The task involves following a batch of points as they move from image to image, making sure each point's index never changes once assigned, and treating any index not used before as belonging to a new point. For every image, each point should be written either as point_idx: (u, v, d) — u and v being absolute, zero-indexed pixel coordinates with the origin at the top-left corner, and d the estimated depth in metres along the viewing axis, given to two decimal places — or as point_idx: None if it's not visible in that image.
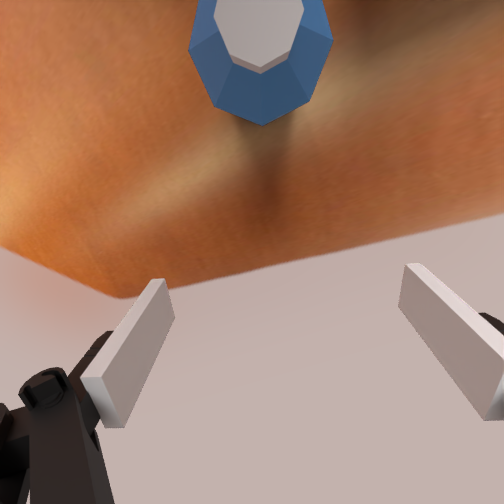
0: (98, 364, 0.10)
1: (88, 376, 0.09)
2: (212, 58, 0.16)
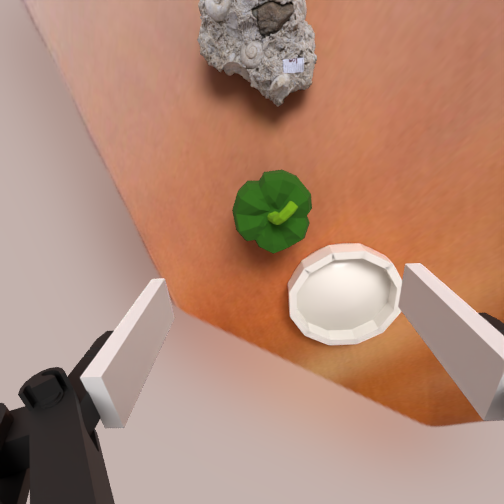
0: (98, 364, 0.10)
1: (88, 376, 0.09)
2: None
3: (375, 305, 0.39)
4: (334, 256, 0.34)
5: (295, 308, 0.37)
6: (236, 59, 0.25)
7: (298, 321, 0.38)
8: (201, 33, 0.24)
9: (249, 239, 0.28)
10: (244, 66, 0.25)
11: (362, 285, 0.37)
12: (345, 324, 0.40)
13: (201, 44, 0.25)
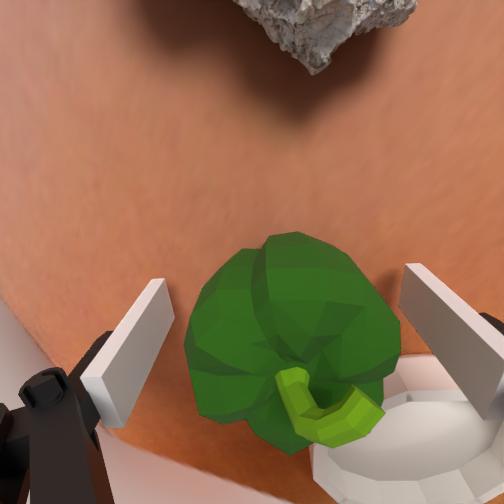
0: (98, 364, 0.10)
1: (88, 376, 0.09)
2: None
3: (466, 451, 0.21)
4: (411, 396, 0.16)
5: (324, 468, 0.20)
6: None
7: (328, 485, 0.21)
8: None
9: (227, 422, 0.11)
10: None
11: (449, 423, 0.20)
12: (407, 474, 0.23)
13: None
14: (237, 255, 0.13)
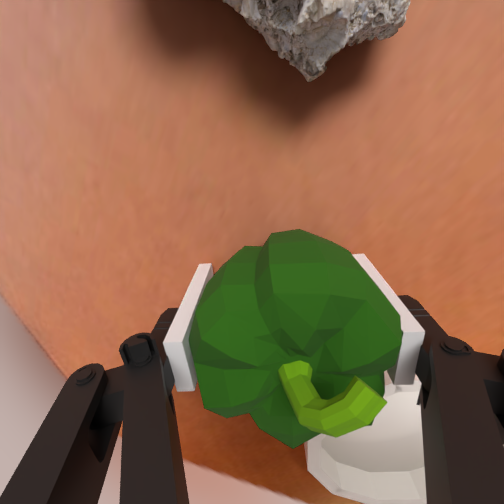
0: (175, 332, 0.11)
1: (170, 341, 0.10)
2: None
3: None
4: (400, 386, 0.17)
5: (318, 459, 0.20)
6: None
7: (322, 476, 0.21)
8: None
9: (231, 416, 0.11)
10: None
11: None
12: (399, 465, 0.24)
13: None
14: (240, 252, 0.13)
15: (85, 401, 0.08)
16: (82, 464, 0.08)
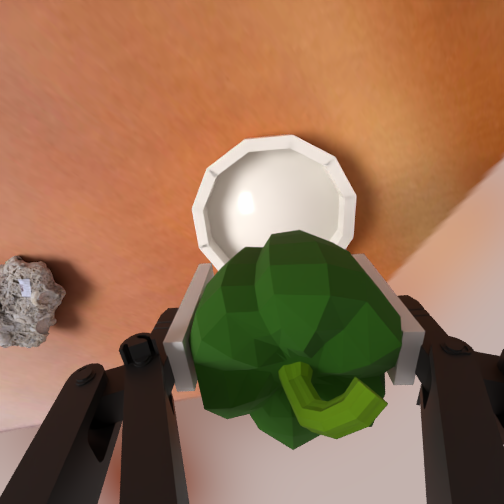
0: (175, 332, 0.11)
1: (170, 341, 0.10)
2: None
3: (294, 164, 0.25)
4: (203, 245, 0.27)
5: None
6: (33, 326, 0.31)
7: None
8: (23, 346, 0.32)
9: (231, 417, 0.11)
10: (35, 323, 0.31)
11: (258, 190, 0.26)
12: (328, 204, 0.27)
13: (30, 346, 0.33)
14: (240, 253, 0.13)
15: (85, 401, 0.08)
16: (82, 464, 0.08)
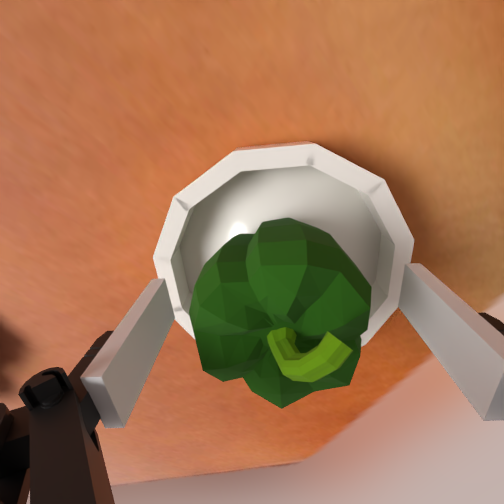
0: (98, 364, 0.10)
1: (88, 376, 0.09)
2: None
3: (313, 188, 0.16)
4: (174, 308, 0.18)
5: None
6: None
7: None
8: None
9: (227, 379, 0.12)
10: None
11: (257, 225, 0.17)
12: (363, 247, 0.17)
13: None
14: (234, 237, 0.15)
15: None
16: None
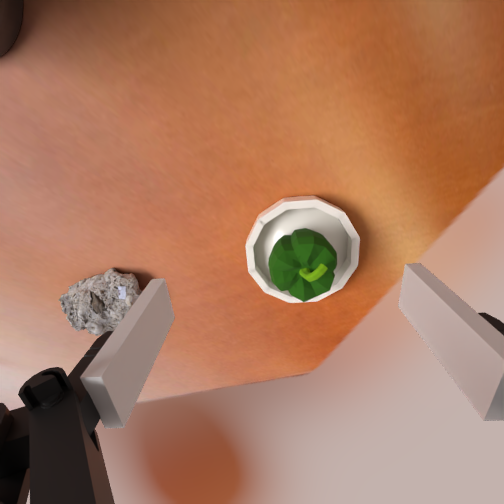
0: (98, 364, 0.10)
1: (88, 376, 0.09)
2: None
3: (316, 215, 0.36)
4: (251, 270, 0.38)
5: None
6: (120, 320, 0.42)
7: (322, 294, 0.39)
8: None
9: (283, 290, 0.33)
10: None
11: (290, 231, 0.37)
12: (340, 241, 0.38)
13: None
14: (283, 236, 0.35)
15: None
16: None
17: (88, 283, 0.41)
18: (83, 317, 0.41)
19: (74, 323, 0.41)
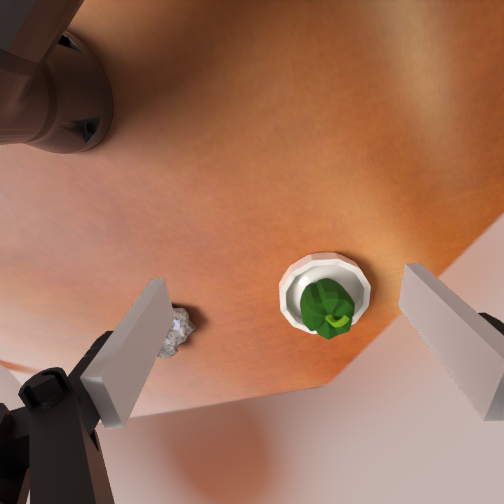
0: (98, 364, 0.10)
1: (88, 376, 0.09)
2: None
3: (336, 267, 0.46)
4: (283, 309, 0.47)
5: None
6: (172, 345, 0.51)
7: None
8: None
9: (312, 330, 0.42)
10: (175, 344, 0.50)
11: (315, 279, 0.47)
12: (354, 286, 0.47)
13: (166, 357, 0.52)
14: (311, 286, 0.44)
15: None
16: None
17: None
18: None
19: None
